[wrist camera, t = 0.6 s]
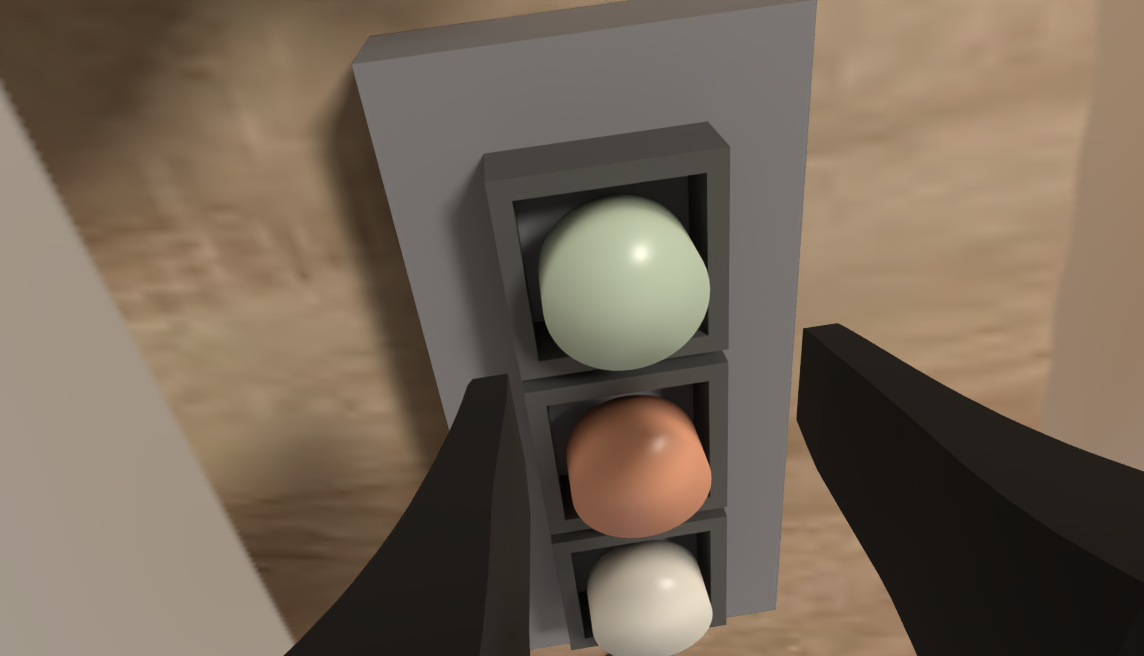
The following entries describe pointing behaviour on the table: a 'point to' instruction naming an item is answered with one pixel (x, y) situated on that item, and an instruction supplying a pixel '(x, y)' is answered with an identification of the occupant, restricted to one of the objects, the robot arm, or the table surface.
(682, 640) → the cream button
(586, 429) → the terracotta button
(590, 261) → the sage button
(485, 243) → the charcoal button panel
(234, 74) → the table surface
